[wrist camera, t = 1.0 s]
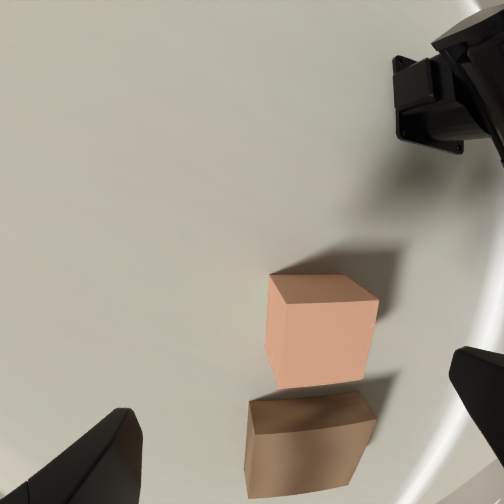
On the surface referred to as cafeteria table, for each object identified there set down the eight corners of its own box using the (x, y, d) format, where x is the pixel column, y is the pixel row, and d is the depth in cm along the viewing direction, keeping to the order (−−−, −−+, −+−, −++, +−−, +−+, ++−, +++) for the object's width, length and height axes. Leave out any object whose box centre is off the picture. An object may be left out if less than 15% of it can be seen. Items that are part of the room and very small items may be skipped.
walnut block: (357, 389, 22) (377, 419, 18) (335, 456, 24) (347, 485, 20) (248, 398, 21) (254, 434, 17) (243, 466, 23) (248, 498, 19)
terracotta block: (343, 273, 20) (379, 300, 15) (333, 341, 21) (362, 379, 16) (268, 274, 19) (286, 304, 14) (264, 345, 20) (278, 389, 15)
